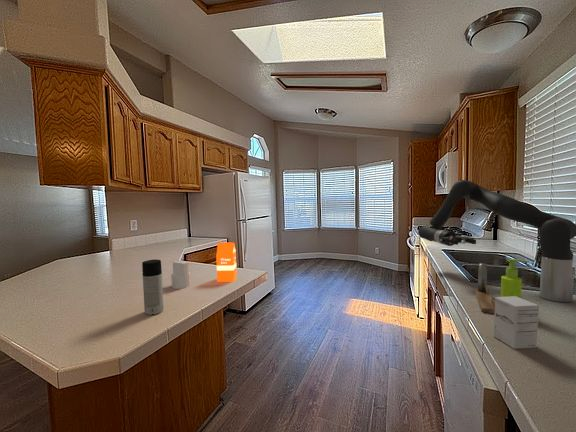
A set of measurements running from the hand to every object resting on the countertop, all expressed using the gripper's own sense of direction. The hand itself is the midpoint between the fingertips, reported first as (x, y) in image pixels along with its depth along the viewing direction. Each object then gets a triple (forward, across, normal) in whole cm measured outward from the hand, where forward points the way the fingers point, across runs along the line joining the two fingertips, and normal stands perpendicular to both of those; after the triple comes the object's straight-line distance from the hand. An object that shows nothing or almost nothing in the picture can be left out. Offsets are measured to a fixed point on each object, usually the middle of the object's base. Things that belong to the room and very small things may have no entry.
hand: (466, 242), depth 130 cm
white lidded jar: (-14, -137, +20) cm, 139 cm away
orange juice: (-22, -116, +20) cm, 120 cm away
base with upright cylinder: (+20, 0, +22) cm, 30 cm away
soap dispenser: (+29, -3, +22) cm, 36 cm away
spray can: (+17, -137, +21) cm, 140 cm away
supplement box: (+48, -19, +22) cm, 56 cm away
